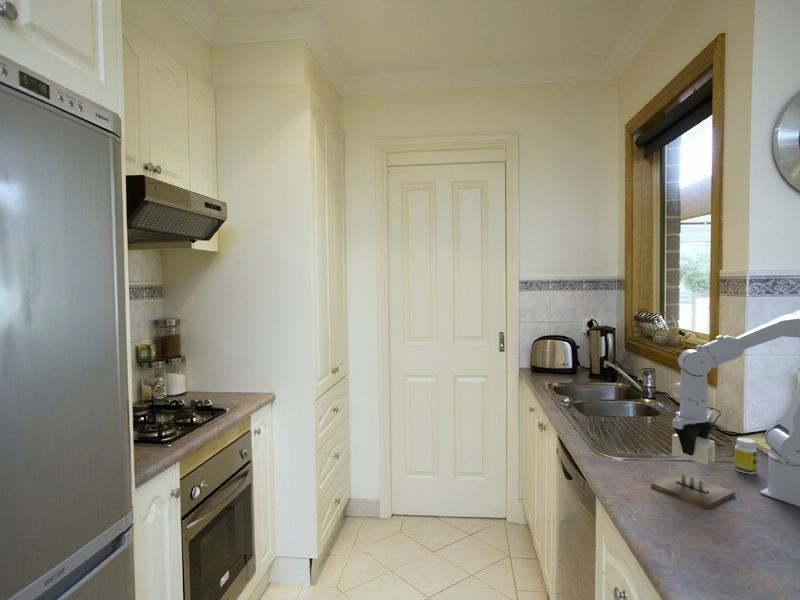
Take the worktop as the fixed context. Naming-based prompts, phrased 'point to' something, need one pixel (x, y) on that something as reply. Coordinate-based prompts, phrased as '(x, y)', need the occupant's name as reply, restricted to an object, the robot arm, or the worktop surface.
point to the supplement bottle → (746, 456)
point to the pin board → (693, 490)
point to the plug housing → (696, 450)
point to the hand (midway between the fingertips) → (693, 452)
